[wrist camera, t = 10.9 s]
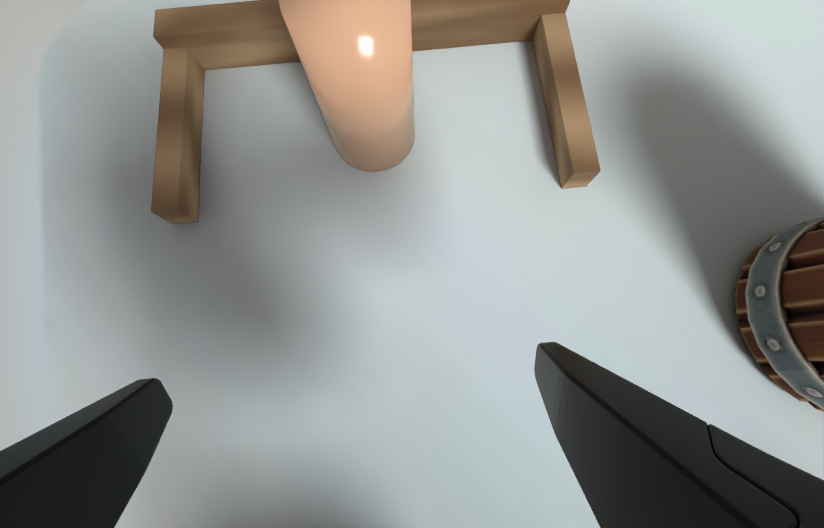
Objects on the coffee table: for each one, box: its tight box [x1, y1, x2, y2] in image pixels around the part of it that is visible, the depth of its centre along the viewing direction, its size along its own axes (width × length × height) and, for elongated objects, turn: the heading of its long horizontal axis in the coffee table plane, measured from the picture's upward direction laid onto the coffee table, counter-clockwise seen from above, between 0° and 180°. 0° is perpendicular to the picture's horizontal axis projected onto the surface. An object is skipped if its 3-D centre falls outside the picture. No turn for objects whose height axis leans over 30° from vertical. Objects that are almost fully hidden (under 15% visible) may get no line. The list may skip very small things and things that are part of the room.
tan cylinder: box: [279, 0, 415, 172], centre depth 20 cm, size 5×5×10 cm
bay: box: [151, 0, 600, 224], centre depth 24 cm, size 13×26×3 cm, turn 95°
